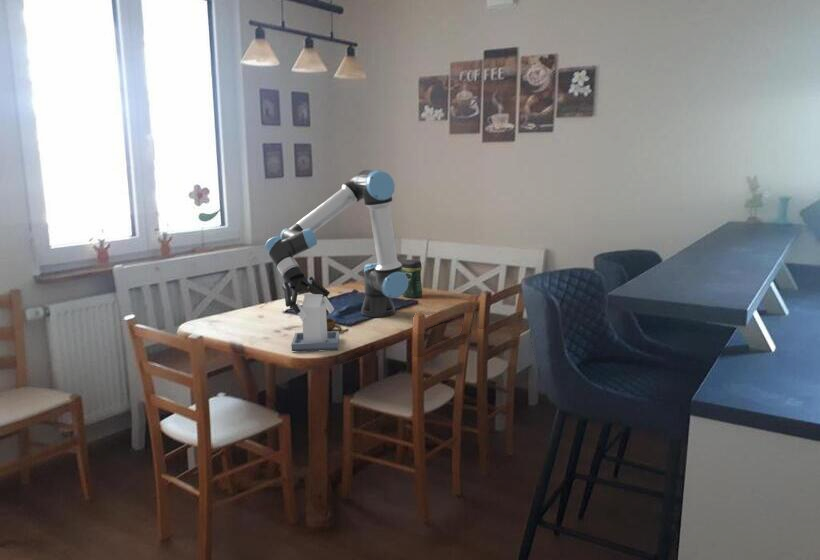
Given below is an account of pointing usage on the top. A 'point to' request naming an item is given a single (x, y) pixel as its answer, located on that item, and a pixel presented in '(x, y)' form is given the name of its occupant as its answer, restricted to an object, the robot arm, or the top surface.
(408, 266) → the coffee jar
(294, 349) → the tray
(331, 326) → the brown toy crab
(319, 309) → the milk carton
